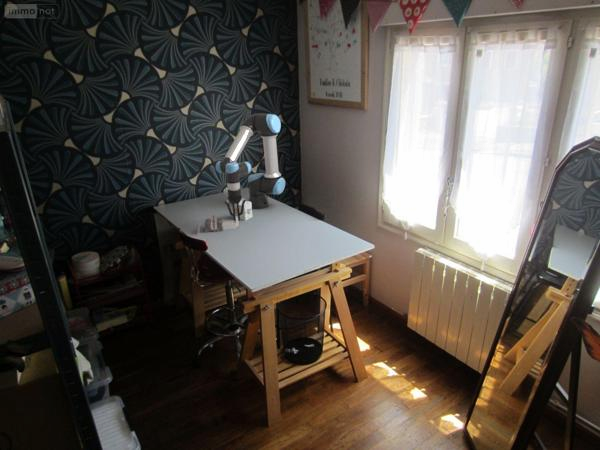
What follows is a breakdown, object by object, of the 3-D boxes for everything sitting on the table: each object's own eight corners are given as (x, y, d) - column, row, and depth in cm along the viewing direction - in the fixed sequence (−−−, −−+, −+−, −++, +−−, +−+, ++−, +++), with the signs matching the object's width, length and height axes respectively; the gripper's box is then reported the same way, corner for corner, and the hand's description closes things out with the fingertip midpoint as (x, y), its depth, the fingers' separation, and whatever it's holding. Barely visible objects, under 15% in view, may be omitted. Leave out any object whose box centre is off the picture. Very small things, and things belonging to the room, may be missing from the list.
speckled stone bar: (236, 226, 259) (235, 220, 257) (236, 228, 255) (236, 222, 253) (210, 228, 257) (209, 222, 255) (210, 231, 253) (209, 224, 251)
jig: (252, 225, 263) (251, 211, 259) (253, 230, 254) (252, 216, 251) (201, 229, 259) (199, 215, 255) (200, 235, 250) (198, 221, 247)
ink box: (234, 220, 272) (233, 203, 268) (242, 216, 279) (240, 199, 275) (245, 222, 268) (244, 205, 264) (253, 218, 275) (251, 201, 271)
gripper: (244, 186, 252) (247, 222, 261) (223, 188, 250) (227, 224, 259) (245, 189, 245) (248, 226, 254) (222, 191, 244) (226, 228, 252)
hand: (237, 225), depth 256 cm, fingers closed
